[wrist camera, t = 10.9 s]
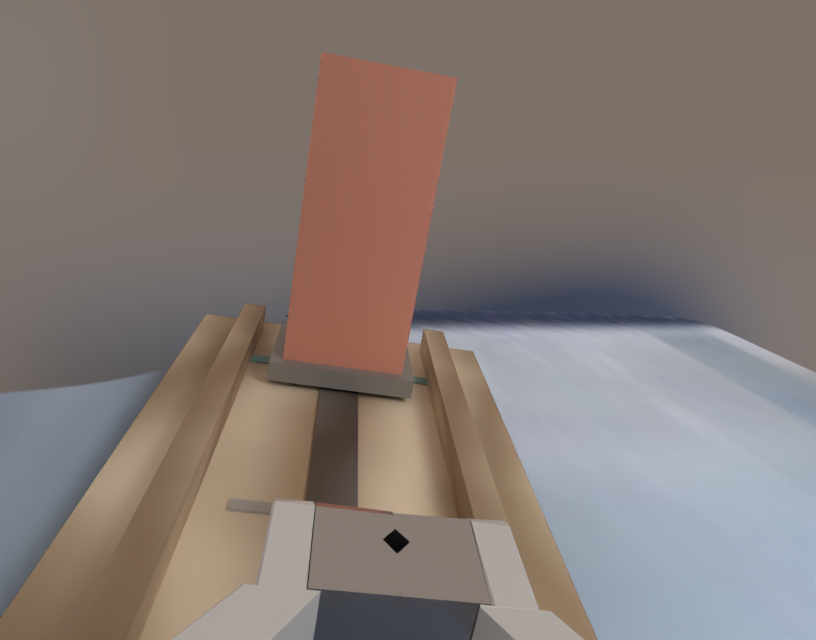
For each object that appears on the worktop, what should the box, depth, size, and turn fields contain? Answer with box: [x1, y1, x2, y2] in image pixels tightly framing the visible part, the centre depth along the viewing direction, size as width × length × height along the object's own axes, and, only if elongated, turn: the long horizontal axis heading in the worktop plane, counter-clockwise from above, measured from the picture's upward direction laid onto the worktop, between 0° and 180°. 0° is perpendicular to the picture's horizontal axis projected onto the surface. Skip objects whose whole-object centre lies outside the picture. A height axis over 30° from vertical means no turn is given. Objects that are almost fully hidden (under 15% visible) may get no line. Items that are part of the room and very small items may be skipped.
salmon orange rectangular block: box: [267, 52, 457, 399], centre depth 28 cm, size 6×5×13 cm
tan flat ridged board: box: [0, 304, 597, 640], centre depth 24 cm, size 14×24×3 cm, turn 4°
